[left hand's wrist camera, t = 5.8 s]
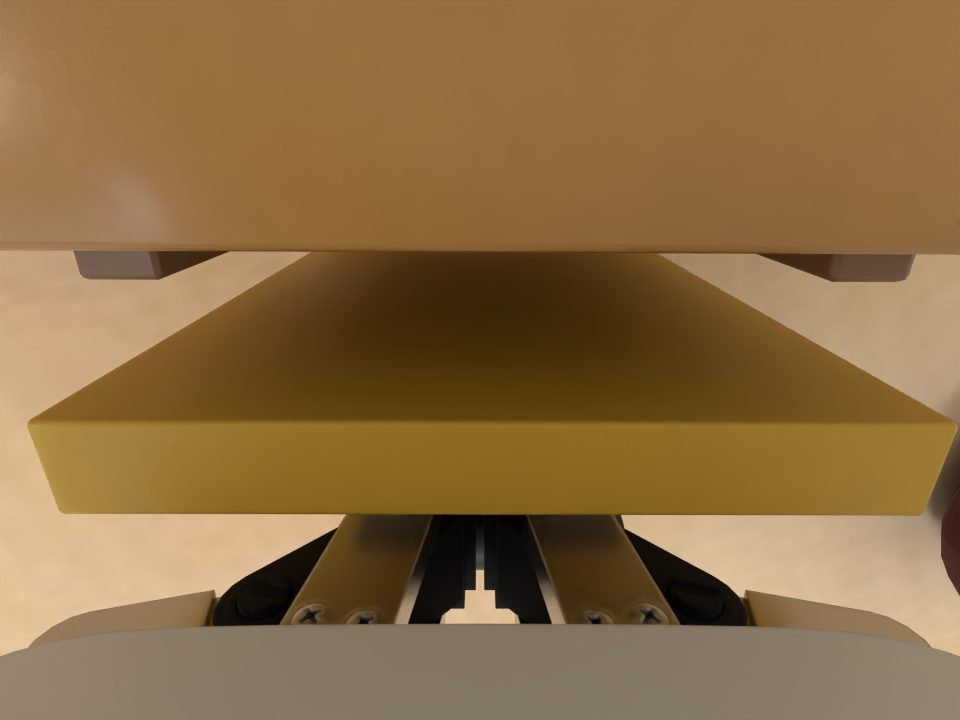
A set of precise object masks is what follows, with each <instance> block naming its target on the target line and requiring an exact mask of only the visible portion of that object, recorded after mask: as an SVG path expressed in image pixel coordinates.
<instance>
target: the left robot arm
mask: <svg viewBox="0 0 960 720" xmlns="http://www.w3.org/2000/svg"><path fill="white" fill-rule="evenodd" d="M465 590H476V514H346V515H345V517H344V519H343V520H342V522H341V524H340V525H339V527H338V528H336V529H334V530H332V531H330V532H328V533H326V534H325V535H323V536H321V537H319V538H317V539H315V540H313V541H311V542H310V543H308V544H306V545H304V546H302V547H300V548H298V549H297V550H295V551H293V552H291V553H289V554H287V555H285V556H283V557H282V558H280V559H278V560H276V561H274V562H272V563H270V564H268V565H267V566H265V567H263V568H261V569H259V570H257V571H255V572H253V573H252V574H250V575H248V576H246V577H245V578H243V579H241V580H240V581H238V582H237V583H235V584H234V585H232V586H231V587H230V588H229V589H228V590H227V591H226V592H225V593H224V594H223V595H222V597H219V598H216V594H215V590H211V591H206V592H200V593H194V594H188V595H183V596H177V597H171V598H165V599H160V600H154V601H148V602H142V603H137V604H131V605H125V606H120V607H114V608H108V609H102V610H97V611H91V612H87V613H84V614H80V615H77V616H74V617H71V618H69V619H67V620H65V621H63V622H61V623H59V624H57V625H55V626H53V627H51V628H50V629H49V630H47V631H46V632H45V633H43V634H42V635H41V636H39V637H38V638H37V639H35V640H34V642H33V643H32V644H31V645H30V646H29V647H28V648H26V649H22V650H19V651H15V652H12V653H9V654H6V655H3V656H1V657H0V720H960V657H959V656H957V655H954V654H951V653H948V652H945V651H941V650H938V649H934V648H932V647H931V646H930V645H929V644H928V643H927V642H926V640H925V639H923V638H922V637H921V636H919V635H918V634H917V633H915V632H914V631H913V630H911V629H910V628H909V627H907V626H905V625H903V624H901V623H899V622H897V621H895V620H893V619H891V618H889V617H886V616H883V615H880V614H876V613H873V612H869V611H863V610H858V609H852V608H846V607H840V606H835V605H829V604H823V603H818V602H812V601H806V600H800V599H795V598H789V597H783V596H777V595H772V594H766V593H760V592H754V591H749V590H745V594H744V598H741V597H738V595H737V594H736V593H735V592H734V591H733V590H732V589H731V588H730V587H729V586H728V585H726V584H725V583H723V582H722V581H720V580H719V579H717V578H716V577H714V576H712V575H710V574H708V573H707V572H705V571H703V570H701V569H699V568H697V567H695V566H693V565H692V564H690V563H688V562H686V561H684V560H682V559H680V558H678V557H677V556H675V555H673V554H671V553H669V552H667V551H665V550H664V549H662V548H660V547H658V546H656V545H654V544H652V543H650V542H649V541H647V540H645V539H643V538H641V537H639V536H637V535H635V534H634V533H632V532H630V531H628V530H626V529H624V528H622V527H621V525H620V524H619V522H618V520H617V519H616V517H615V515H509V514H484V590H495V605H496V609H510V610H511V611H513V612H514V613H515V624H445V613H446V612H447V611H449V610H450V609H464V606H465Z"/></svg>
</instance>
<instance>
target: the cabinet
mask: <svg viewBox="0 0 960 720" xmlns="http://www.w3.org/2000/svg"><path fill="white" fill-rule="evenodd" d="M0 250H74V251H298V252H523V253H747V254H960V0H0Z"/></svg>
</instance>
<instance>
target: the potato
mask: <svg viewBox="0 0 960 720" xmlns="http://www.w3.org/2000/svg"><path fill="white" fill-rule="evenodd" d="M941 557H942V559H943V562H944V565H945V568H946V571H947V574H948V577H949V578H950V580H951V582H952V583H953V585H954V587H955V589H956V590H957V592H958V594H959V595H960V486H959V487H958V489H957V490H956V491H955V492H954V494H953V496H952V498H951V501H950V503H949V505H948V507H947V510H946V512H945V514H944V517H943V519H942V529H941Z"/></svg>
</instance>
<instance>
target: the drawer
mask: <svg viewBox="0 0 960 720" xmlns="http://www.w3.org/2000/svg"><path fill="white" fill-rule="evenodd" d="M227 252H229V251H74V254H75V257H76V260H77V264H78V267H79V271H80V274H81V275H82V277H84V278H87V279H147V280H159V279H161V278H164V277H166V276H169V275H171V274H174V273H176V272H179V271H181V270H184V269H187V268H189V267H192V266H194V265H197V264H199V263H202V262H204V261H207V260H209V259H212V258H214V257H217V256H219V255H222V254H224V253H227ZM758 255H761V256H763V257H766V258H769V259H771V260H774V261H777V262H780V263H782V264H785V265H788V266H791V267H793V268H796V269H799V270H802V271H804V272H807V273H810V274H812V275H815V276H818V277H821V278H823V279H826V280H829V281H832V282H897V281H902V280H905V279H906V278H907V276H908V275H909V272H910V269H911V266H912V263H913V260H914V257H915V254H758ZM28 429H29V432H30V434H31V437H32V440H33V442H34V445H35V448H36V450H37V453H38V456H39V458H40V461H41V464H42V466H43V469H44V472H45V474H46V477H47V480H48V482H49V485H50V488H51V490H52V493H53V496H54V498H55V501H56V504H57V506H58V509H59V511H60V512H62V513H64V514H476V570H484V514H509V515H615V517H616V519H617V520H618V522H619V524H620V525H621V527H622V528H624V524H623V520H622V517H621V515H921V514H922V513H923V512H924V511H925V509H926V506H927V504H928V501H929V499H930V496H931V494H932V491H933V489H934V487H935V484H936V482H937V479H938V477H939V474H940V472H941V469H942V467H943V465H944V462H945V460H946V457H947V455H948V452H949V450H950V447H951V445H952V442H953V440H954V438H955V435H956V433H957V430H958V425H957V424H956V423H955V422H954V421H952V420H950V419H948V418H946V417H945V416H943V415H941V414H939V413H938V412H936V411H934V410H932V409H931V408H929V407H927V406H925V405H924V404H922V403H920V402H918V401H916V400H915V399H913V398H911V397H909V396H908V395H906V394H904V393H902V392H901V391H899V390H897V389H895V388H894V387H892V386H890V385H888V384H886V383H885V382H883V381H881V380H879V379H878V378H876V377H874V376H872V375H871V374H869V373H867V372H865V371H863V370H862V369H860V368H858V367H856V366H855V365H853V364H851V363H849V362H848V361H846V360H844V359H842V358H841V357H839V356H837V355H835V354H833V353H832V352H830V351H828V350H826V349H825V348H823V347H821V346H819V345H818V344H816V343H814V342H812V341H811V340H809V339H807V338H805V337H803V336H802V335H800V334H798V333H796V332H795V331H793V330H791V329H789V328H788V327H786V326H784V325H782V324H781V323H779V322H777V321H775V320H773V319H772V318H770V317H768V316H766V315H765V314H763V313H761V312H759V311H758V310H756V309H754V308H752V307H751V306H749V305H747V304H745V303H743V302H742V301H740V300H738V299H736V298H735V297H733V296H731V295H729V294H728V293H726V292H724V291H722V290H720V289H719V288H717V287H715V286H713V285H712V284H710V283H708V282H706V281H705V280H703V279H701V278H699V277H698V276H696V275H694V274H692V273H690V272H689V271H687V270H685V269H683V268H682V267H680V266H678V265H676V264H675V263H673V262H671V261H669V260H668V259H666V258H664V257H662V256H660V255H659V254H657V253H523V252H311V253H309V254H307V255H306V256H304V257H302V258H300V259H299V260H297V261H295V262H294V263H292V264H290V265H289V266H287V267H285V268H284V269H282V270H280V271H279V272H277V273H275V274H274V275H272V276H270V277H269V278H267V279H265V280H264V281H262V282H260V283H259V284H257V285H255V286H254V287H252V288H250V289H248V290H247V291H245V292H243V293H242V294H240V295H238V296H237V297H235V298H233V299H232V300H230V301H228V302H227V303H225V304H223V305H222V306H220V307H218V308H217V309H215V310H213V311H212V312H210V313H208V314H207V315H205V316H203V317H202V318H200V319H198V320H197V321H195V322H193V323H191V324H190V325H188V326H186V327H185V328H183V329H181V330H180V331H178V332H176V333H175V334H173V335H171V336H170V337H168V338H166V339H165V340H163V341H161V342H160V343H158V344H156V345H155V346H153V347H151V348H150V349H148V350H146V351H145V352H143V353H141V354H140V355H138V356H136V357H134V358H133V359H131V360H129V361H128V362H126V363H124V364H123V365H121V366H119V367H118V368H116V369H114V370H113V371H111V372H109V373H108V374H106V375H104V376H103V377H101V378H99V379H98V380H96V381H94V382H93V383H91V384H89V385H88V386H86V387H84V388H83V389H81V390H79V391H77V392H76V393H74V394H72V395H71V396H69V397H67V398H66V399H64V400H62V401H61V402H59V403H57V404H56V405H54V406H52V407H51V408H49V409H47V410H46V411H44V412H42V413H41V414H39V415H37V416H36V417H34V418H32V419H31V420H29V422H28Z"/></svg>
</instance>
